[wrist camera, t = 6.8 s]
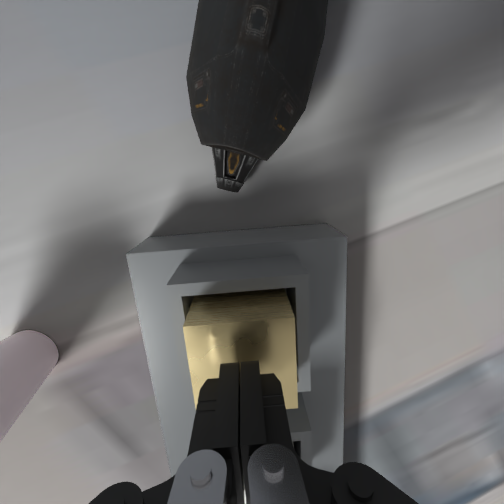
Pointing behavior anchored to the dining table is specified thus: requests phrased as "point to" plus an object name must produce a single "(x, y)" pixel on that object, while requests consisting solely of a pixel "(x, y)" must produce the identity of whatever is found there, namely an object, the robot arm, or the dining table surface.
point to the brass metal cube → (242, 336)
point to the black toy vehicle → (251, 77)
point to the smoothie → (22, 372)
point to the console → (238, 280)
